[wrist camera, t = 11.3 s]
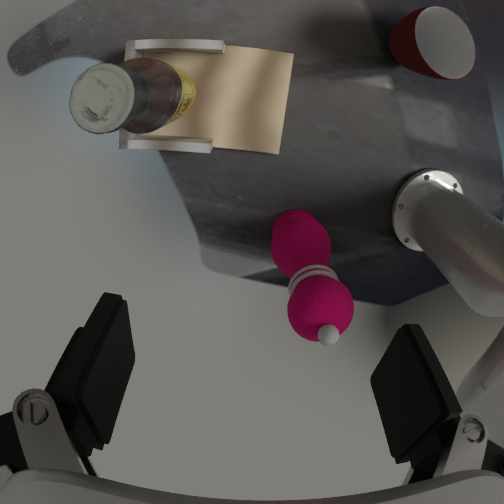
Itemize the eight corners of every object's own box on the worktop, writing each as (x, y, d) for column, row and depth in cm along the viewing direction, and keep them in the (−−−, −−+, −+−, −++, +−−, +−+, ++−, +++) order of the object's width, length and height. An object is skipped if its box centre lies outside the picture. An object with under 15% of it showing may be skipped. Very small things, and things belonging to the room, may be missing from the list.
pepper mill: (268, 255, 43) (283, 373, 25) (268, 205, 39) (288, 311, 22) (320, 253, 43) (362, 365, 25) (324, 204, 39) (382, 304, 22)
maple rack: (292, 55, 30) (299, 50, 26) (277, 152, 36) (282, 161, 32) (136, 45, 28) (122, 41, 24) (129, 140, 34) (115, 148, 30)
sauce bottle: (157, 128, 33) (72, 180, 15) (136, 82, 30) (31, 91, 12) (209, 105, 32) (168, 126, 14) (188, 57, 29) (123, 25, 11)
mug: (403, -4, 25) (446, -20, 16) (446, 40, 27) (494, 37, 18) (361, 46, 29) (399, 36, 20) (407, 89, 31) (453, 96, 23)
